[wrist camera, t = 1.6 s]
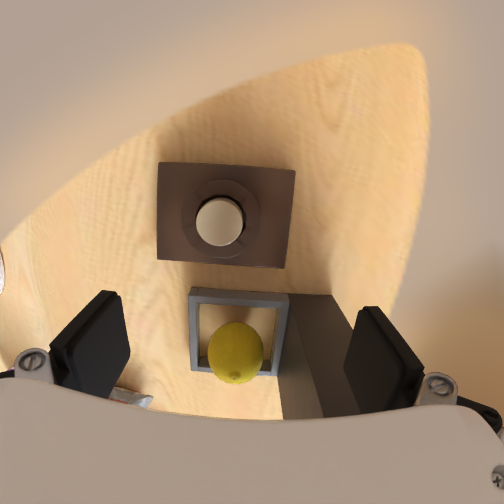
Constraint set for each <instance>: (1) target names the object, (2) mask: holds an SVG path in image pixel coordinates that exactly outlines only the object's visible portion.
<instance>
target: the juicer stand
mask: <svg viewBox="0 0 504 504" xmlns="http://www.w3.org/2000/svg"><path fill="white" fill-rule="evenodd" d="M199 303H205V304H217V305H230V306H245V307H262V308H278V310H277V317H276V324H275V330H274V337H273V344H272V350H271V357H270V361H263V362H262V365H261V368H260V370H259V372H258V373H257V374H256V375H259V376H277V378H278V385H279V392H280V399H281V406H282V413H283V420H298V419H319V418H333V417H344V416H353V415H361V413H360V411H359V408H358V406H357V403H356V400H355V398H354V395H353V393H352V390H351V388H350V385H349V383H348V380H347V378H346V375H345V373H344V369H343V365H344V360H345V357H346V354H347V351H348V347H349V344H350V340H351V337H352V333H353V329H352V328H351V326H350V324H349V322H348V321H347V319H346V317H345V316H344V314H343V312H342V311H341V309H340V308H339V306H338V304H337V303H336V301H335V299H334V298H333V296H332V295H312V294H290V293H271V292H254V291H239V290H225V289H212V288H198V287H192V288H191V290H190V292H189V295H188V309H189V341H190V362H191V371H200V372H211V373H213V371H212V370H211V367H210V364H209V361H208V357H201V356H200V354H199Z"/></svg>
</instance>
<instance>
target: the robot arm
mask: <svg viewBox="0 0 504 504" xmlns="http://www.w3.org/2000/svg"><path fill="white" fill-rule="evenodd" d="M4 278H5V276H4V266H3V260H2V256H1V253H0V294H1V293H2V290H3V287H4ZM49 346H50V349H51V350H50V351H49V352H48V353H47V352H46V351H45V350H43V349H40V348H31V349H28V350H25V351H24V352H22V353H21V354H20V355H18V357H17V358H16V360H15V369H13V370H9V371H5V372H1V373H0V504H504V427H503V426H502V425H503V424H502V418H501V416H500V415H499V413H498V412H497V411H496V410H495V409H493V408H491V407H488V406H485V405H482V404H480V403H477V402H474V401H471V400H469V399H466V398H463V397H461V396H458V395H457V394H458V386H457V384H456V382H455V381H454V380H453V379H452V378H451V377H450V376H448V375H446V374H444V373H440V372H431V373H428V374H427V375H425V374H424V372H423V370H424V366H423V364H422V363H421V362H420V360H419V359H418V358H417V356H416V355H415V354H414V352H413V351H412V349H411V348H410V347H409V345H408V344H407V343H406V342H405V340H404V339H403V338H402V336H401V335H400V333H399V332H398V331H397V330H396V328H395V327H394V326H393V324H392V323H391V322H390V321H389V319H388V318H387V317H386V315H385V314H384V313H383V312H382V310H381V309H380V308H379V307H378V306H365V307H363V309H362V310H359V312H358V315H357V318H356V322H355V326H354V330H353V333H352V337H351V340H350V344H349V347H348V351H347V354H346V357H345V360H344V365H343V369H344V373H345V375H346V378H347V380H348V383H349V385H350V388H351V390H352V393H353V395H354V398H355V400H356V403H357V406H358V408H359V411H360V413H361V415H353V416H344V417H333V418H319V419H298V420H252V419H231V418H217V417H206V416H197V415H189V414H181V413H174V412H167V411H161V410H155V409H149V408H144V407H139V406H134V405H129V404H125V403H120V402H116V401H112V400H108V398H109V396H110V394H111V392H112V390H113V388H114V386H115V384H116V382H117V380H118V378H119V377H120V375H121V373H122V371H123V369H124V367H125V365H126V364H127V362H128V360H129V358H130V346H129V341H128V336H127V331H126V325H125V319H124V313H123V307H122V300H121V297H120V296H118V295H117V293H116V292H115V291H107V290H102V291H101V292H100V293H99V294H98V295H97V296H96V297H95V298H94V299H93V300H91V301H90V302H89V303H88V304H87V305H86V307H85V308H84V309H83V310H82V311H81V312H80V313H79V314H78V315H77V316H76V317H75V318H74V319H73V320H72V321H71V322H70V323H69V324H68V325H67V326H66V327H65V328H64V329H63V330H62V331H61V332H60V334H59V335H58V336H57V337H56V338H55V339H54V340H53V341H52V342H51V343H50V344H49Z"/></svg>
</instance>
